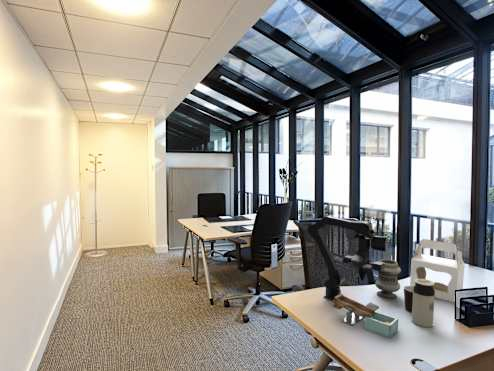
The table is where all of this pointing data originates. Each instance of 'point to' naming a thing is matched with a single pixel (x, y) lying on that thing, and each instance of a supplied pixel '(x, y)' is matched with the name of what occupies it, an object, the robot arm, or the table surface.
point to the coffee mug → (408, 298)
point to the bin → (382, 324)
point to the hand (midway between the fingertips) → (362, 280)
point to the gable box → (438, 267)
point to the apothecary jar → (388, 279)
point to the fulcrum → (351, 317)
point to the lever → (355, 306)
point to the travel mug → (423, 302)
